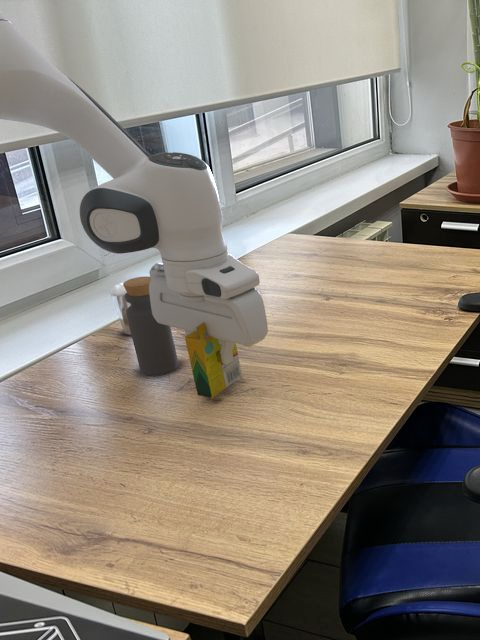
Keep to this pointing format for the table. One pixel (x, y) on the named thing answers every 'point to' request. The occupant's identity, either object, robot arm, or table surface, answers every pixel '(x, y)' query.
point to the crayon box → (210, 363)
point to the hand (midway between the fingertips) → (215, 359)
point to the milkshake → (121, 305)
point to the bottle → (148, 331)
